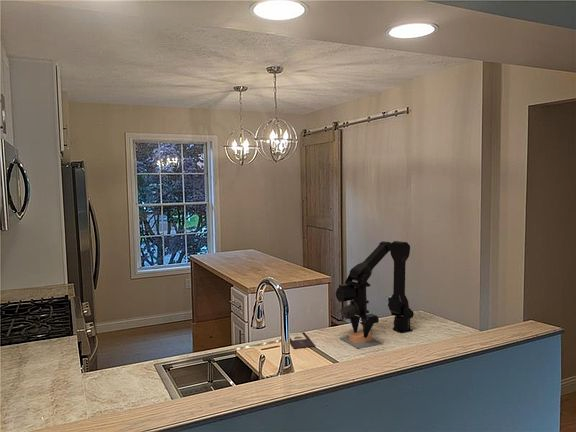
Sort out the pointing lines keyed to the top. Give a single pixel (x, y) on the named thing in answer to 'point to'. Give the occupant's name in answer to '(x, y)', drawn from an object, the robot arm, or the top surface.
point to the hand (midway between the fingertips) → (360, 335)
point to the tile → (359, 337)
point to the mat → (362, 344)
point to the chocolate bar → (300, 341)
